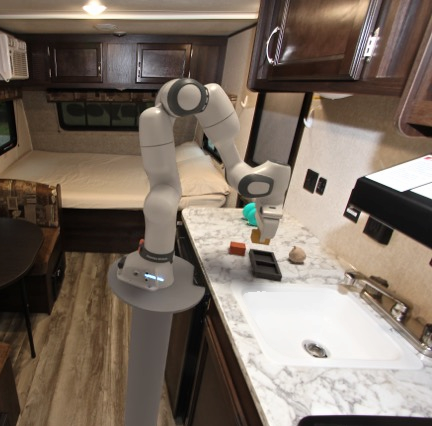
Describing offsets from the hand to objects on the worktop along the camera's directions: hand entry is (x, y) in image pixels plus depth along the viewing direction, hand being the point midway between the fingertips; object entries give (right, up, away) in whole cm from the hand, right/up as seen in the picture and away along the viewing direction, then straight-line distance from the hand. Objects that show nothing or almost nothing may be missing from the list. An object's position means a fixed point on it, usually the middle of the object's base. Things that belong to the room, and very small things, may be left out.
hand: (260, 237), depth 112 cm
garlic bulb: (+22, -11, +14) cm, 29 cm away
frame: (+6, -13, +10) cm, 17 cm away
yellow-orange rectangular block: (0, -1, +1) cm, 2 cm away
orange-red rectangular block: (-1, -8, +19) cm, 21 cm away
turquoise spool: (+20, +4, +48) cm, 52 cm away
